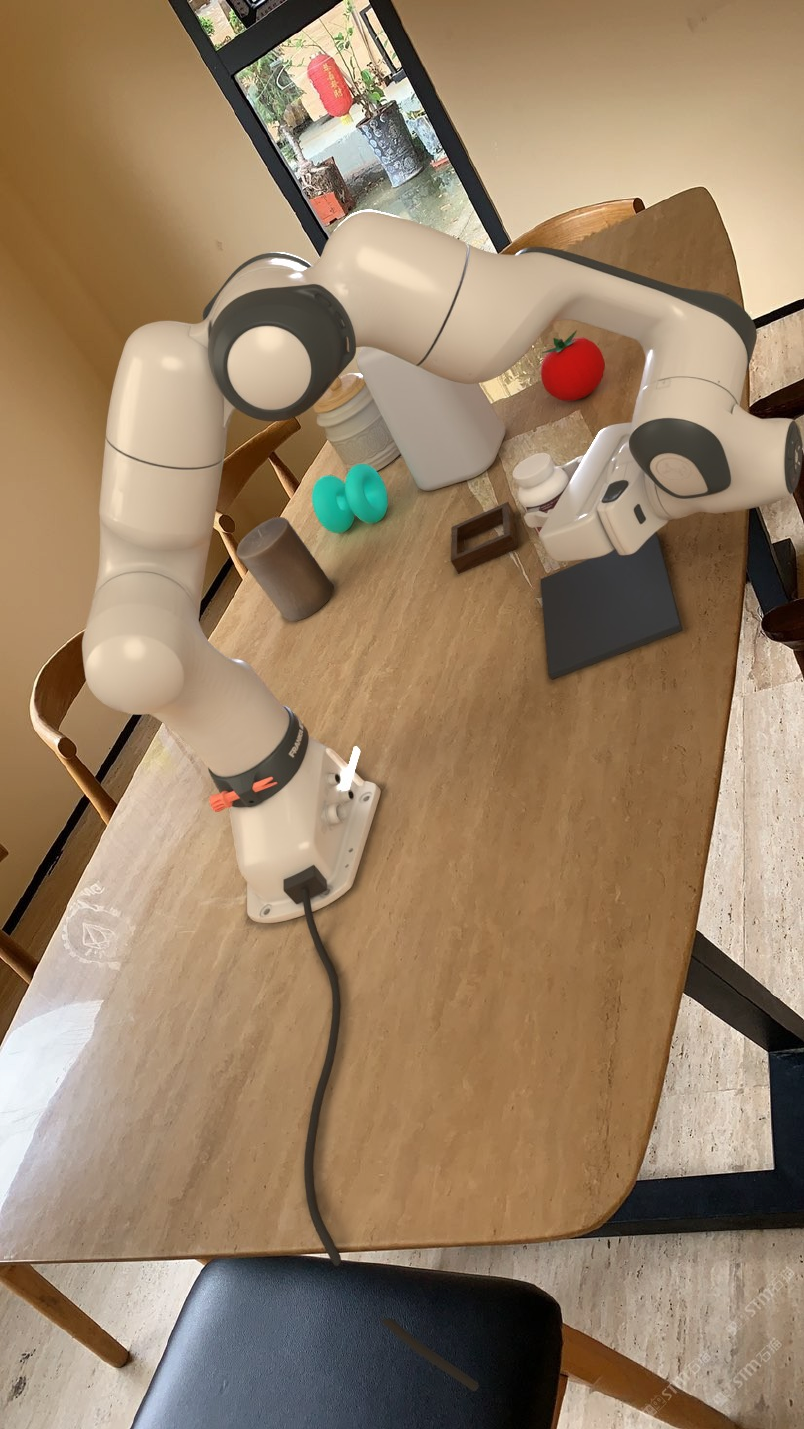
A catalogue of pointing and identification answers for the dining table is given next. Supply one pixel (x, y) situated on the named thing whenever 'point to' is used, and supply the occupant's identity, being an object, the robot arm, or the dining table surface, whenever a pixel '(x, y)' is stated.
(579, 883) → the dining table surface
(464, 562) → the frame
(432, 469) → the plastic bottle
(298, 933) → the dining table surface
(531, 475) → the pill bottle
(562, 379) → the tomato
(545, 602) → the mat
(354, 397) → the jar
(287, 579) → the pillar candle
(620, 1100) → the dining table surface
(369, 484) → the teal spool
